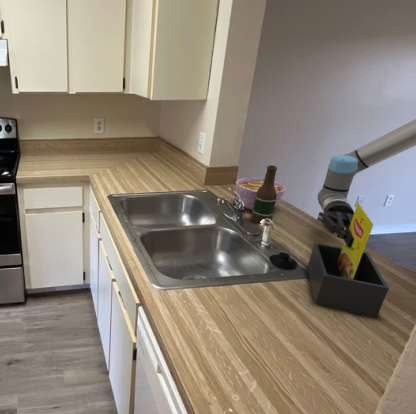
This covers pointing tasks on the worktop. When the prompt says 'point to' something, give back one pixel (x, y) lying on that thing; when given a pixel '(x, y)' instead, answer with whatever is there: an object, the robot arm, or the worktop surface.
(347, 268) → the food package
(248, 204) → the bowl of food
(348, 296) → the storage bin
